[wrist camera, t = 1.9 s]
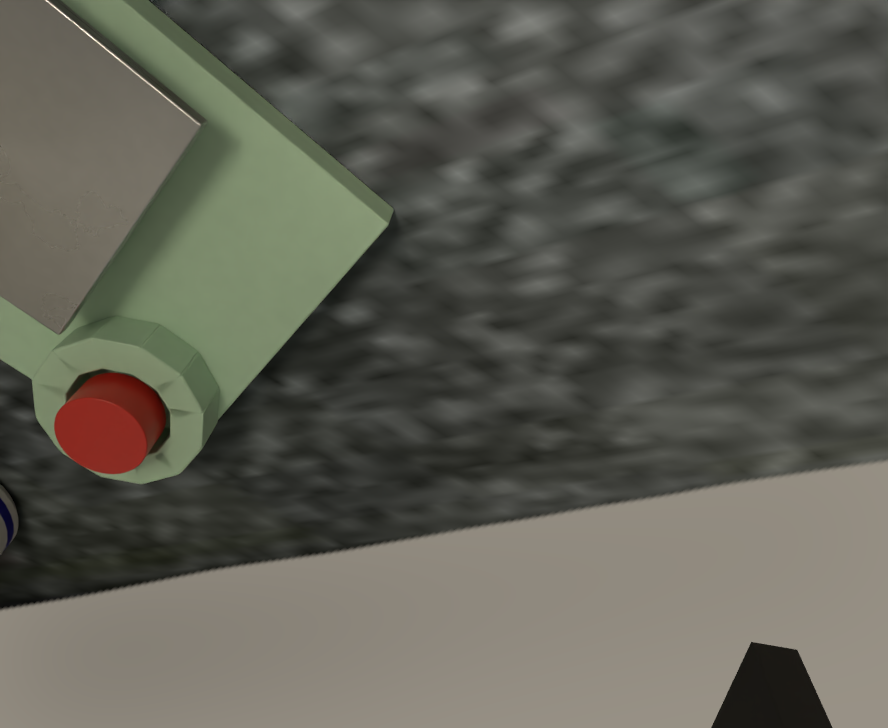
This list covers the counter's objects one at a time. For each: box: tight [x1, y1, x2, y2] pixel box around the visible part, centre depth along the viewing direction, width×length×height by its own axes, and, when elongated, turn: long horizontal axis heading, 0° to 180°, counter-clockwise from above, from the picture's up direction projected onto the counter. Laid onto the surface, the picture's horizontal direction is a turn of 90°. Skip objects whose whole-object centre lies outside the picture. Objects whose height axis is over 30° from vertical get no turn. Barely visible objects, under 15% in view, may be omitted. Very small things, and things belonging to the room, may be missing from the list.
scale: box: [0, 0, 394, 484], centre depth 24 cm, size 16×15×4 cm
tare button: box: [54, 373, 166, 474], centre depth 25 cm, size 3×3×2 cm
